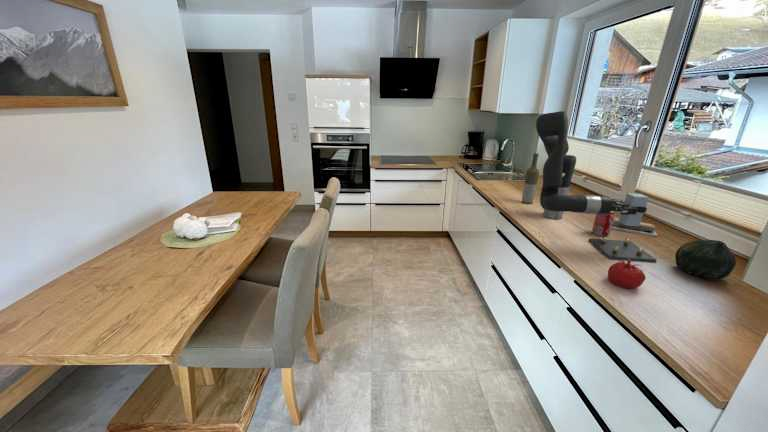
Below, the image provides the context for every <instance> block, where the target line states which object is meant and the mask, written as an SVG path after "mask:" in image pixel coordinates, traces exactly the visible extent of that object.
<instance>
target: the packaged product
mask: <svg viewBox="0 0 768 432" xmlns="http://www.w3.org/2000/svg"><path fill="white" fill-rule="evenodd" d="M655 229H656V227H655V225H654V224H652V223H647V222H642V221H641V222H640V225H639V226H627V225H624V224H622V223H621V222H619V217H615V218H614V221H613V225H612V228H611V230H614V231H619V232H624V233H630V234H636V235H640V236H647V237H652V238H657V237H658V233H657V232H656V230H655Z"/></svg>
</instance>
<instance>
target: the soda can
mask: <svg viewBox="0 0 768 432" xmlns="http://www.w3.org/2000/svg"><path fill="white" fill-rule="evenodd" d="M615 216H616V212H613V211H611V212H610V213H609V214H607V215H600V214H595V218H594V221H593V226H592V230H591V231H592V232H593V234H594V235H597V236H601V237H607V236H609V235H610V233H611V231H612V229H611V228H612V225H613V221H614V218H616V217H615Z"/></svg>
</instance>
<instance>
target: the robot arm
mask: <svg viewBox="0 0 768 432" xmlns="http://www.w3.org/2000/svg"><path fill="white" fill-rule="evenodd" d="M535 121H536V122H535V129H536V132H537V135H538V137H539V138H540V140H541V141H542V143H543V146H544V150H545V152H546V154H547V159H546V160H545V161H544V163H543V164H544V165H543V168H542V187H541V189H540V190H541V192H540V195H539V196H540V197H539V204H540V207H541V208H543V213H542V217H544V218H545V217H546V218H547V219H548V218H549V219H551V220H553V219H554V220H561V219H563V217H564V212H565V213H566V212H571V213H581V214H588V215H596V214H600V215H607V214H609V213H610V212H611V211H613V212H614V213H620V214H622V215H635V214H636V213H637V212H638V213H647V209H648V208H647V206H646V207H636V206H630V205H629V204H624V201H625V200H623V199H617V198H611V196H609V195H593V194H592V195H589V194H588V195H582V194H581V195H579V194H578V195H577V194H572V195H570V194H569V191H570V187H571V181H572V177H573V175H574V172H575V171H574V170H575V167H576V163H577V157H576V156H575V155H570V154H567V153H568V152H569V150H570V149H569V142H568V138H567V136H568V131H569V130H568V128H569V117H568V113H567V112H566V111H564V110H562V111H561V110H560V111H555V112H553V111H552V112H548V113H547V112H546V113H542V114H540V115H538V117H537V118H536V120H535ZM563 174H564V175H563ZM625 206H626V207H625Z"/></svg>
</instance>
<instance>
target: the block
mask: <svg viewBox="0 0 768 432" xmlns="http://www.w3.org/2000/svg"><path fill="white" fill-rule="evenodd" d="M649 198H650V197H649V196H646V195H644V194H642V193H629V192H628V193H626V195H625V199H624V200H623V201H624V204H629V205H630V206H636V207H646V208H647V204H648V201H649ZM625 207H626V206H625ZM643 216H644V213H638V212H637V213H636V214H635V215H622V214H621V213H620V216H619V217H618V218H619V222H621V223H622V224H624V225H627V226H639V225H640V222H642V219H643Z"/></svg>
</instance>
